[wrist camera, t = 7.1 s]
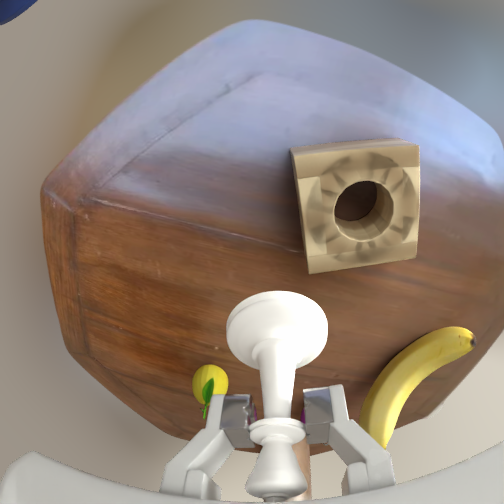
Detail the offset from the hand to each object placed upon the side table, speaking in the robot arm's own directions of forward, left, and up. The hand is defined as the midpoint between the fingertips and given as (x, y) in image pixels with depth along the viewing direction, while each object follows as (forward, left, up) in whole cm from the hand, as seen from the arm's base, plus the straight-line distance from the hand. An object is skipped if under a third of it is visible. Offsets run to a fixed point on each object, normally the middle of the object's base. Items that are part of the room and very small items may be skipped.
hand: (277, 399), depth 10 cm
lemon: (+26, -13, -24) cm, 38 cm away
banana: (+29, +19, -24) cm, 42 cm away
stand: (+1, +9, -24) cm, 25 cm away
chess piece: (0, 0, -4) cm, 4 cm away
